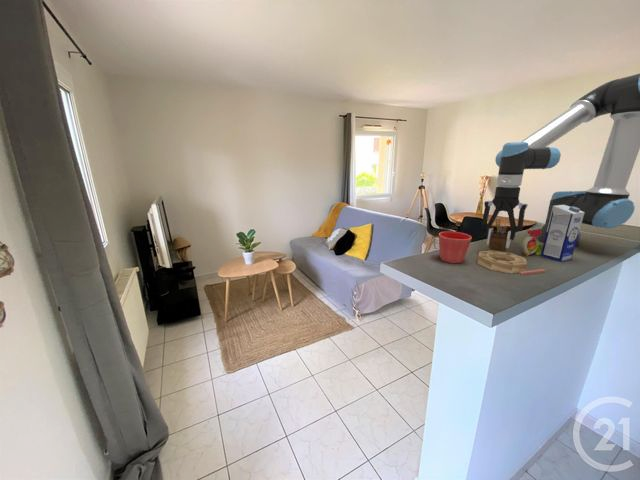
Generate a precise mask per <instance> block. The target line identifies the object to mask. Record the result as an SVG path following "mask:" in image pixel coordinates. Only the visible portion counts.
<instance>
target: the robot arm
mask: <svg viewBox="0 0 640 480" xmlns="http://www.w3.org/2000/svg"><path fill="white" fill-rule="evenodd" d="M608 114H609V115H610V116H609V118H611V119H612V121H613V123H612V127H611V130H610V134H609V137H608V139H607V143H606V145H605V149H604V151H603V156H602V158H601V162H600V164H599V168H598V170H597V174H596V178H595V180H594V184H593V186H592V187H591V188H589V189H587V190H572V191H569V190H568V191H565V190H563V191H555V192H553V193H552V195H551V199H550V200H549V204H548V210H547V215H546V219H545V223H544V225H543V226H542V227H541V228H540V229H541V232H542V235H540V236H537V239H538V241H540V242H542V243H544V240H545V236H546V232H547V228H548V224H549V220H550V216H551V212H552V208H553V206H556V205H566V206H570V207H571V206H573V207H577V208H579V209H580V211H583V212H585V213H584V216H583V220H582V223H581V224H582V225H588V226H593V227H595V228H603V229H615V228H619V227H620V226H622V225H624V224H625V223H626V222H627V221H629V220H630V219H631V217H633V216H632V215H633V214H634V211H635V205H634V204H635V203H634V202H633V201H632V200H630V199H629V197H630V192H629V191H628V190H627V185H628V182H629V181H630V177H631V174H632V172H633V168H634V166H635V163H636V161H637V157H638V154H639V151H640V73H639V72H638V73H637V74H633V75H629V76H625V77H621V78H617V79H613V80H610V81H608V82H605V83H603V84H601V85H599V86H597V87H596V88H594V89H592V90H590V91H589V92H587V93H586V94H584V95H583V96H581V97H580V98H579V99H577V100H576V101H574V102H573V103H572V104H571V105H570V107H569V108H568V109H567V110H565V111H564V112H562V113H561V114H559V115H558V116H557V117H555V118H553V119H552V120H550V121H549V122H548V123H546V124H545V125H544V126H542V127H540V128H539V129H537V130H535V132H533V133H532V134H530V135H529V136H527V137H526V138H524V139H523V140H521V141H515V142H514V141H513V142H506V143H504V144H503V146H502V149H501V150H500V151H498V153H497V154H496V156H495V158H494V159H495V164H496V165H497V167H498V173H497V180H496V187H495V191H494V196H493V199H492V200H486V201H485V202H484V203H483V204H484V209H483V210H484V212H483V215H482V220H481V221H482V222H481V226H482V227H484V228H486V229H485V236H486V237H487V240H486V245H487V246H489V241H490V237H491V236H492V232H494V227H493V225H494V223H495V222H496V219H497V217H498V215H499V213H500V212H507V215H508V221H509V228H510V230H508V232H507V234H508V236H507V237H506V238H507V242H506V247H505V248H506V249H509V248H510V247H511V246H510V245H511V240H512V241H513V240H514V239H515V238H516V233H517V232H520V231H522V230H523V227H524V222H525V221H524V219H525V214H526V213H525V212H526V209H527V208H528V206H529V205H528V203H522V202H520V199H519V198H520V192H521V188H520V186H522V182H523V178H524V177H523V176H524V172H525V170H546V169H553V168H554V167H556V166H557V165H558V163H559V162H560V160H561V151H560V150H559V149H558V148H557V147H550V145H551V144H553V143H554V142H556V141H558V140H559V139H560V138H562V137H563V136H565V135H567V134H568V133H569V132H571V131H572V130H574V129H576V128H577V127H579V126H580V125H581V124H583V123H584V124H585V123H589V122H590V121H592V120H594V119H595V118H598V117H600V116H604V115H608ZM492 205H494V208H495V209H494V211H493V213H492V214H491V217H490V219H489V214H490V210H491V206H492ZM517 206H518V211H519V212H518V220H517V224H516V220H515V219H516V218H515V213H514V212H515V210H514V209H516V207H517ZM581 242H582V235H581V229H580V230H579V234H578V237H577V241H576V245H575V247H579V246H580V245H581Z"/></svg>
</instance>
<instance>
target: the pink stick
mask: <svg viewBox="0 0 640 480" xmlns="http://www.w3.org/2000/svg"><path fill="white" fill-rule="evenodd" d="M546 271H547V270H546V269H544V268H542V269H541V268H540V269H534V270H533V269H532V270H526V271H524V272H519V273H518V275H520V276H526V275H534V274H542V273H546Z"/></svg>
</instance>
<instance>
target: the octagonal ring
mask: <svg viewBox="0 0 640 480" xmlns="http://www.w3.org/2000/svg"><path fill="white" fill-rule="evenodd" d="M478 252H479V253H478V257H477V265H479V266H480V267H484V268H485V269H488V270H489V271H494V272H501V273H507V274H519V272H524V271H527V266H528V262H527V258H525V257H523V256H520V255H517V254H514V253H513V252H512V253H511V252H506V251H504V252H500V251H493V250H481V251H478Z"/></svg>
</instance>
